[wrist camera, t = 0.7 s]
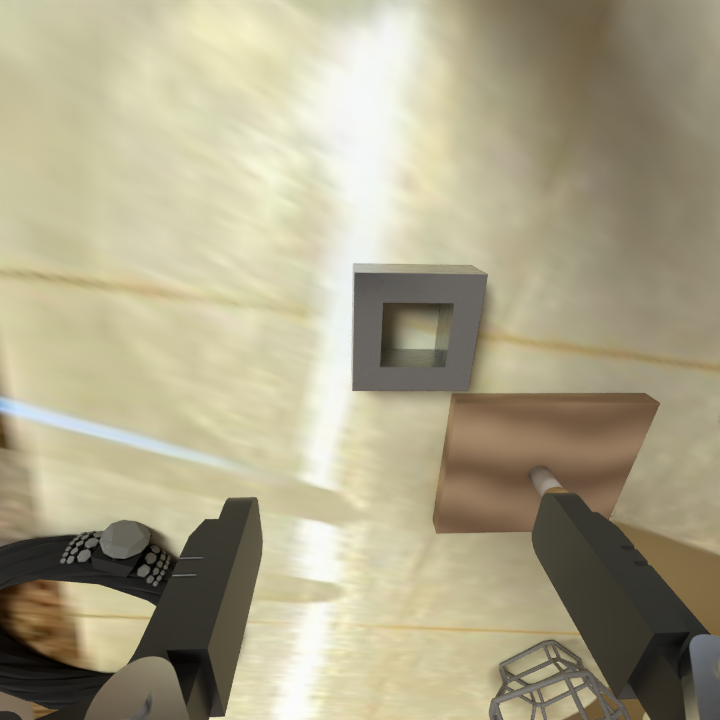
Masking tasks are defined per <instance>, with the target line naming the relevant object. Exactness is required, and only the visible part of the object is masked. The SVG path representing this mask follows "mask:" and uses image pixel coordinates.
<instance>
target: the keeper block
mask: <svg viewBox="0 0 720 720" xmlns="http://www.w3.org/2000/svg"><path fill="white" fill-rule="evenodd" d="M659 405H660V403H659V402H658V401H656V400H655V399H653V398H652V397H650V396H649V395H647V394H646V393H546V394H452V397H451V403H450V410H449V416H448V423H447V429H446V436H445V443H444V449H443V456H442V462H441V469H440V475H439V482H438V489H437V495H436V502H435V508H434V515H433V523H434V526H435V530H436V534H437V533H484V532H531V531H532V530H533V527H534V523H535V520H536V516H537V513H538V510H539V506H540V503H541V499H542V496H543V495H544V494H545V493H563V492H573V493H576V494H577V495H579V496H580V497H581V499H582V500H583V501H584V502H585V504H586V505H587V506H588V507H589V508H590V510H591V511H592V512H598V513H600V514H601V515H602V516H604V517H605V518H606V519H608V520H609V517H610V515H611V513H612V511H613V508H614V506H615V504H616V502H617V499H618V497H619V495H620V493H621V490H622V488H623V486H624V484H625V481H626V479H627V477H628V475H629V472H630V470H631V468H632V466H633V463H634V461H635V459H636V457H637V454H638V452H639V450H640V448H641V445H642V443H643V441H644V439H645V436H646V434H647V432H648V430H649V427H650V425H651V423H652V421H653V418H654V416H655V414H656V412H657V409H658V407H659Z"/></svg>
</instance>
